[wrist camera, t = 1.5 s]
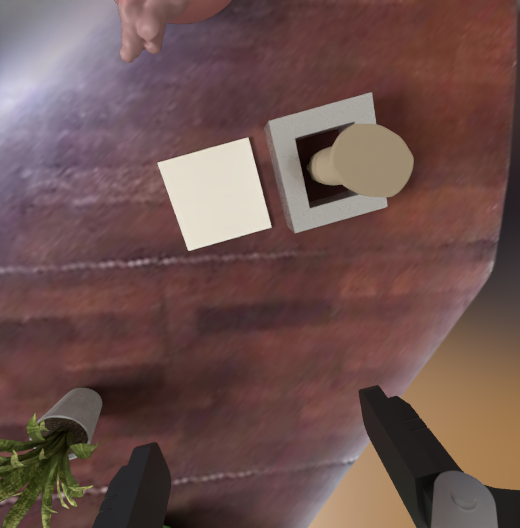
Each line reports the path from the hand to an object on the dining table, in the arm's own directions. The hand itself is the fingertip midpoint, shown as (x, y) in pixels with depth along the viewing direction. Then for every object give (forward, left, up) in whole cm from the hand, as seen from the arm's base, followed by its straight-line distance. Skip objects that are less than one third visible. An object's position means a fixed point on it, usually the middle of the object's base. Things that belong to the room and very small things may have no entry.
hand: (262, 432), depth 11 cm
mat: (-8, -1, -29) cm, 30 cm away
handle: (-8, +12, -29) cm, 32 cm away
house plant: (+14, -27, -29) cm, 42 cm away
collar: (-8, +12, -29) cm, 32 cm away
